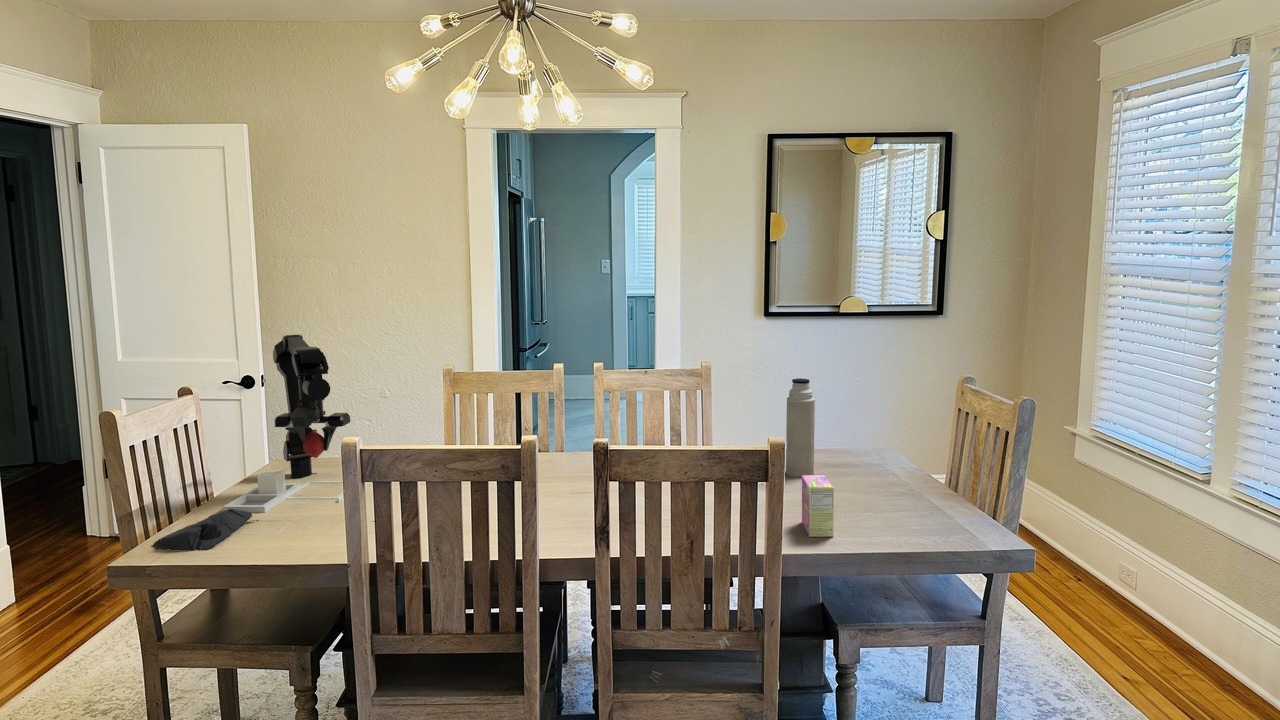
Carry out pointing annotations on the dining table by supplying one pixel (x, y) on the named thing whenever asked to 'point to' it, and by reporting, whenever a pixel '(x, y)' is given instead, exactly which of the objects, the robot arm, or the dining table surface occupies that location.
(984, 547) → the dining table surface
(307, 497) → the pale green square frame
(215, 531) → the dark folded cloth
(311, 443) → the onion
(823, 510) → the box
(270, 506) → the grey divided tray
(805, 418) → the thermos bottle
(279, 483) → the cream block
